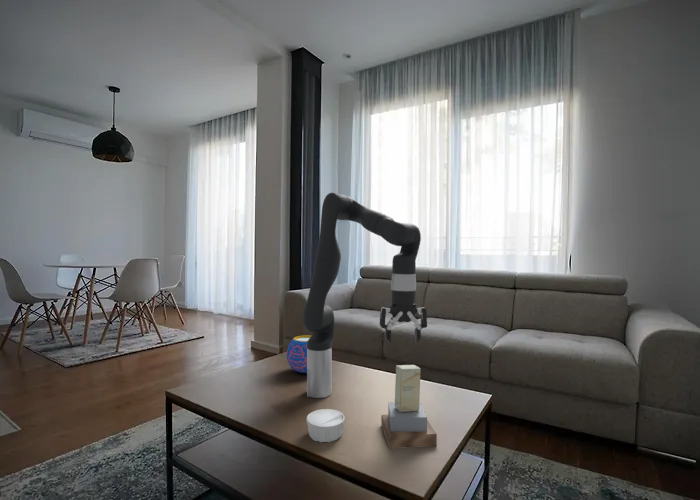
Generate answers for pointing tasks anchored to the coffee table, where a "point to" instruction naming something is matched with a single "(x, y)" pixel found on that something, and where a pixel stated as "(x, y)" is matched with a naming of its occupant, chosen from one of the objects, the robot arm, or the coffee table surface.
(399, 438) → the walnut base block
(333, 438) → the ramekin
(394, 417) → the slate top block
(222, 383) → the coffee table surface
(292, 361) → the ceramic pot
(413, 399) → the skincare box
